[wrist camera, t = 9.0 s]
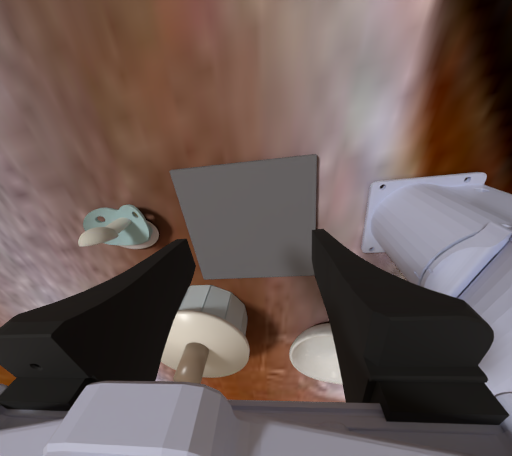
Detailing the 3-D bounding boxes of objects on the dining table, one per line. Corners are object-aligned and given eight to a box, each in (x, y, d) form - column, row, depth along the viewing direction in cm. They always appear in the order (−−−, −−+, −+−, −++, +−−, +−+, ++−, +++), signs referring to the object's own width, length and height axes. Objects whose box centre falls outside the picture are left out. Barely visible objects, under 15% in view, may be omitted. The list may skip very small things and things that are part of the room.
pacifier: (170, 242, 26) (149, 197, 23) (142, 279, 20) (111, 226, 17) (117, 248, 27) (91, 205, 24) (78, 284, 21) (38, 235, 18)
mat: (315, 154, 19) (316, 155, 19) (314, 272, 26) (314, 275, 25) (171, 169, 21) (169, 171, 20) (205, 276, 27) (203, 279, 27)
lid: (242, 309, 23) (235, 346, 19) (255, 374, 29) (252, 411, 25) (131, 310, 24) (106, 344, 21) (166, 371, 30) (152, 405, 27)
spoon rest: (292, 358, 35) (296, 411, 29) (283, 311, 30) (285, 364, 24) (450, 354, 31) (494, 414, 25) (473, 298, 26) (535, 358, 20)
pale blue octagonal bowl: (240, 284, 28) (233, 316, 23) (251, 336, 33) (247, 370, 28) (162, 286, 29) (142, 317, 25) (185, 336, 34) (172, 368, 30)
